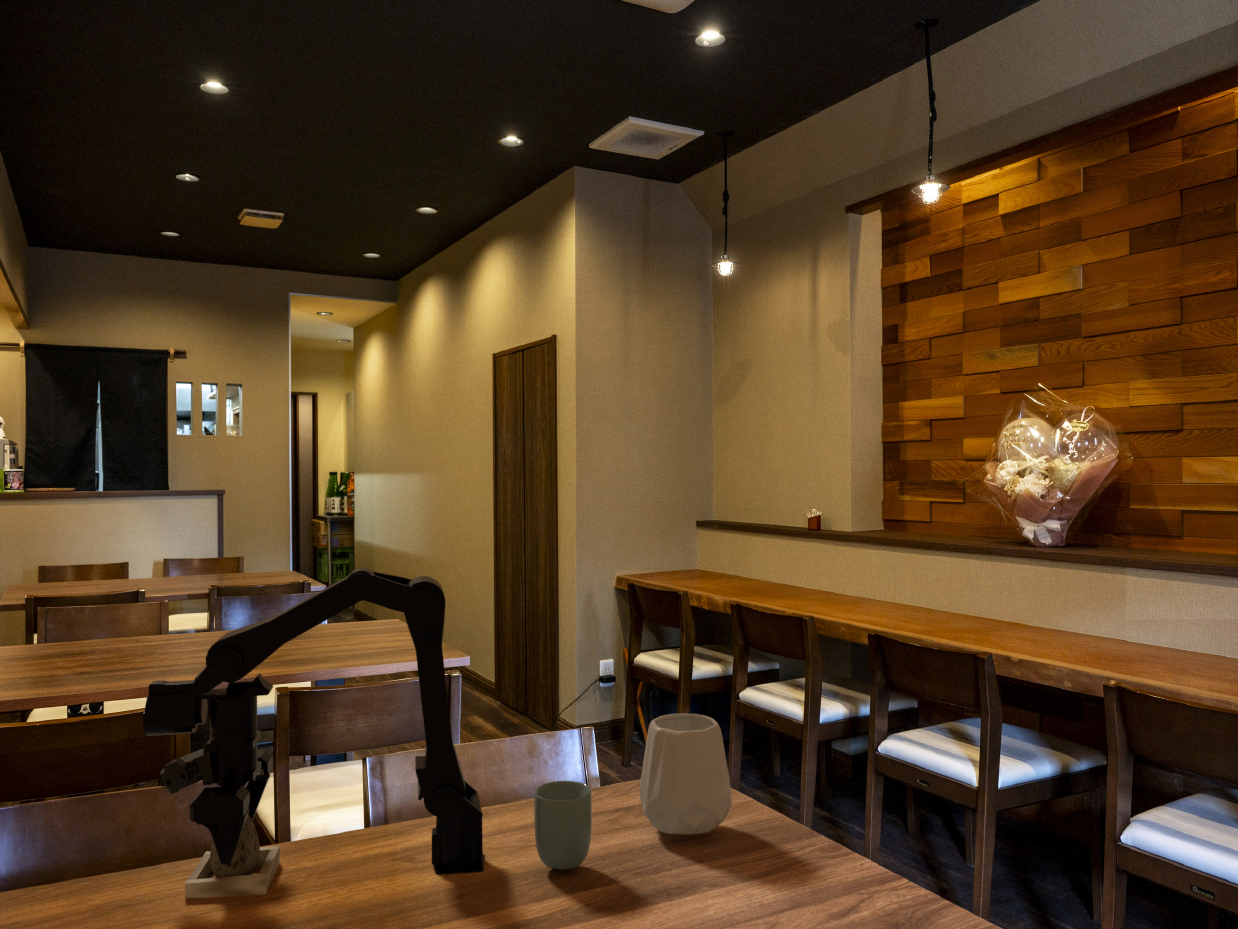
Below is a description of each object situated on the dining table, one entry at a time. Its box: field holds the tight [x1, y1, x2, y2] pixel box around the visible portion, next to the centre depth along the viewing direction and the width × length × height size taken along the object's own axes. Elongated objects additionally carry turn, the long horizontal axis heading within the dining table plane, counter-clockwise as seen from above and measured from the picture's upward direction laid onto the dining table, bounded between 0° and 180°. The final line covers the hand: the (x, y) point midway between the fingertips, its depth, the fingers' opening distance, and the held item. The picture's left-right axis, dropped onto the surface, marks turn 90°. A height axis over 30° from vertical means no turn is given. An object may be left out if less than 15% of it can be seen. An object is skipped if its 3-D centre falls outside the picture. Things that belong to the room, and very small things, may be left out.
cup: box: [533, 780, 593, 871], centre depth 123 cm, size 8×8×10 cm
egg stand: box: [184, 845, 281, 899], centre depth 118 cm, size 10×10×2 cm
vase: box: [639, 712, 733, 835], centre depth 137 cm, size 14×14×15 cm
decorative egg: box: [210, 814, 260, 878], centre depth 118 cm, size 6×6×10 cm
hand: (234, 848), depth 118 cm, fingers open, 9 cm apart
